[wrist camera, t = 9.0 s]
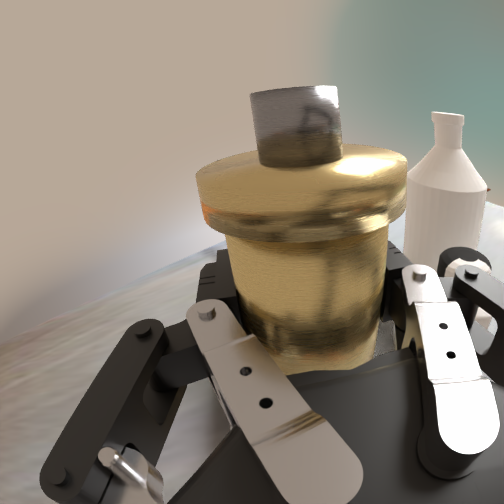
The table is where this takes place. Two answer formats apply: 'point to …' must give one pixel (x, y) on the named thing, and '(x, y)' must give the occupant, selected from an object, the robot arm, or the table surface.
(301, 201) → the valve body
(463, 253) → the medicine bottle
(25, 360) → the table surface
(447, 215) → the bottle
